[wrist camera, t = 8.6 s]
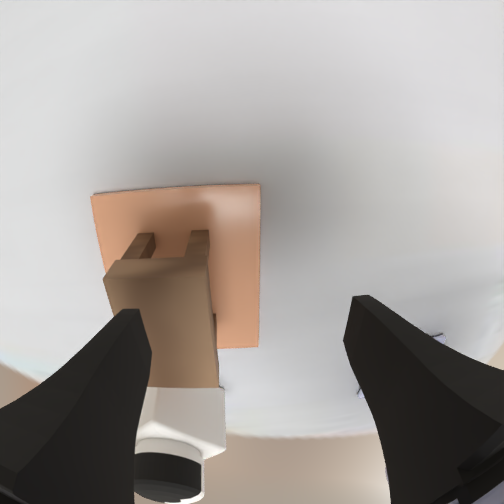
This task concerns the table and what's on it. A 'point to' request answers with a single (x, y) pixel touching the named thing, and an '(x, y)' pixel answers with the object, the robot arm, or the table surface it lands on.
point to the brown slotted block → (170, 309)
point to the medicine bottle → (177, 442)
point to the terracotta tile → (177, 236)
